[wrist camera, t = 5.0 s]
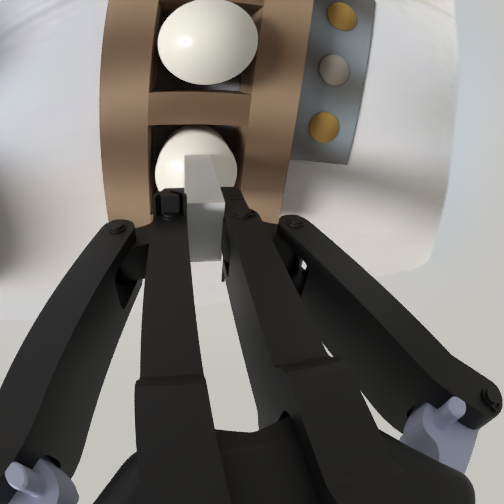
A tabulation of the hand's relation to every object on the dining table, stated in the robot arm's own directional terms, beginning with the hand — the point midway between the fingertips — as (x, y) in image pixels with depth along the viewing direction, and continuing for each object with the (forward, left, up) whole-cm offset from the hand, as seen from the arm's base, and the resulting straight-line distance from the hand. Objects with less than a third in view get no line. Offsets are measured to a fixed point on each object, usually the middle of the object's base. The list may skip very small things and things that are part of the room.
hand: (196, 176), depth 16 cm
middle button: (-6, -6, -2) cm, 8 cm away
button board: (-8, -3, -5) cm, 10 cm away
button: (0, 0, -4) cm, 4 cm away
